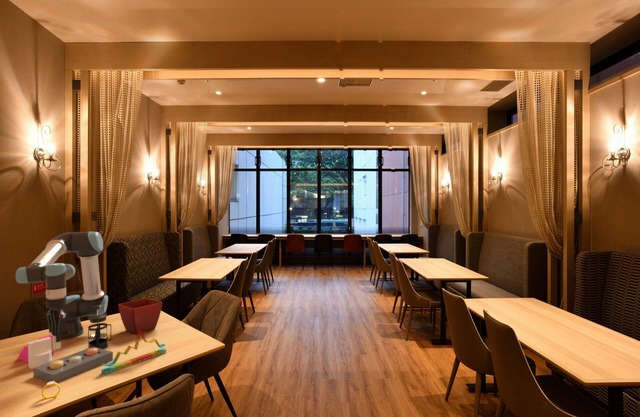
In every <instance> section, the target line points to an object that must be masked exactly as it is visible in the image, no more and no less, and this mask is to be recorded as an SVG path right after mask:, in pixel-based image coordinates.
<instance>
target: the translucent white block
mask: <svg viewBox="0 0 640 417" xmlns="http://www.w3.org/2000/svg"><path fill="white" fill-rule="evenodd" d="M38 339H39V338H38ZM38 339H36V340H32V341H29V342H27V345H28V362H27V363H28V368H29V369H32V370H33V368H35V367H38V366H41V365H44V364H46V363H49V362H52V358H53V355H52V350H53V349H52V343H51V337H47V338H43V339H39V340H38Z"/></svg>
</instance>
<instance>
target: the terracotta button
mask: <svg viewBox="0 0 640 417" xmlns="http://www.w3.org/2000/svg"><path fill="white" fill-rule="evenodd" d="M87 349H88V348H87ZM85 350H86V349H85ZM95 354H98V348H90V349H88V350H86V356H89V357H90V356H93V355H95Z"/></svg>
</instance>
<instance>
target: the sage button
mask: <svg viewBox="0 0 640 417" xmlns="http://www.w3.org/2000/svg"><path fill="white" fill-rule="evenodd" d="M80 360H81V356H74V357H71V358H69V362H70V363H74V362H77V361H80Z"/></svg>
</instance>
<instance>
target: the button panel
mask: <svg viewBox="0 0 640 417" xmlns="http://www.w3.org/2000/svg"><path fill="white" fill-rule="evenodd" d="M91 348H96V347H91ZM89 349H90V348H89ZM86 350H88V348H86V349H83V350H81V351H78V352H74V353H72V354H69V355H67V356H64V357H61V358H60V357H59V358H58V359H55V360H53V361H52V362H54V361H58V360H63V366H64V367H61V368H58V369H56V370H51V369H50V363H51V362H49V363H46V364H44V365H41V366H38V367H35V368H33V369H32V370H33V378H35V379H38V380H41V381H44V382H47V383H48V382H51V381H55V383H58V384H59V383H60V382H62V381H64V380H67V379H70V378H72V377H74V376H77V375H79V374H82V373H84V372H87V371H90V370H92V369H94V368H97V367H99V366H103V365H102V364H106V363H107V364H108V363H110V362H112V361H113V360H114V351H111V350H106V349H100V348H98V354H95V355H93V356H90V357H89V356H86ZM74 356H81V360H80V361H77V362H74V363H70V362H69V358H71V357H74Z"/></svg>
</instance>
